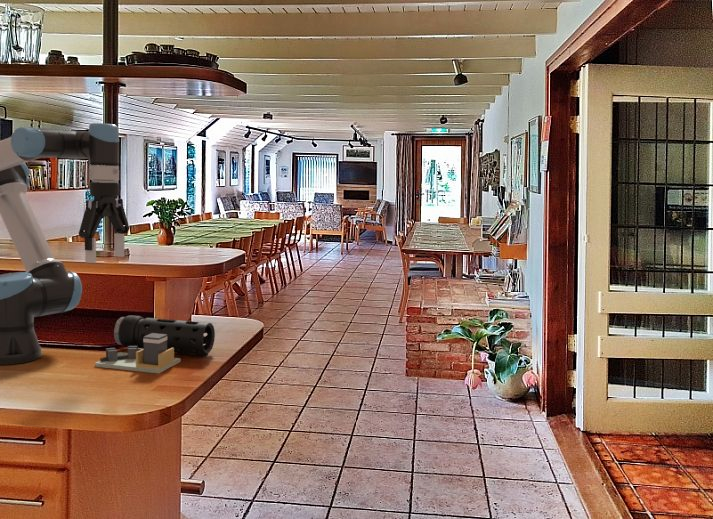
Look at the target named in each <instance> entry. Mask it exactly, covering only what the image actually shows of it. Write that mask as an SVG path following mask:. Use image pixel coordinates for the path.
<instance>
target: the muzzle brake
mask: <svg viewBox="0 0 713 519" xmlns="http://www.w3.org/2000/svg"><path fill="white" fill-rule="evenodd" d="M151 333H157V334H167V350H168V349H170V348H174V354H178V355H189V356H199V357H200V356H201V357H206V356H208V355H209V354H210V353H211V351H212V349H213V347H214V344H215V336H216V333H215V327H214V325H213V323H212V322H204V321H191V320H190V321H189V320H181V319H180V320H179V319H177V320H176V319H167V318H166V319H164V318H154V317H146V318H145V317H143V316H142V315H130V314H129V315H127V316H121V317H120V318H119V317H118V319H117V320H116V322H115V325H114V329H113V337H114V340H115V342H116V343H117V344H118V345H121V346H122V347H123V348H128V346H137V349H138V348H142V349H144V342H143V338H144V336H146V335H149V334H151ZM204 334H206V335H204Z"/></svg>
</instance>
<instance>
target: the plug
mask: <svg viewBox="0 0 713 519" xmlns="http://www.w3.org/2000/svg"><path fill="white" fill-rule="evenodd" d="M143 342H144V364H150V365H158V354H160V353H162V352H164V351H166V350H167V334H157V333H151V334H149V335H146V336H144V338H143Z"/></svg>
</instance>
